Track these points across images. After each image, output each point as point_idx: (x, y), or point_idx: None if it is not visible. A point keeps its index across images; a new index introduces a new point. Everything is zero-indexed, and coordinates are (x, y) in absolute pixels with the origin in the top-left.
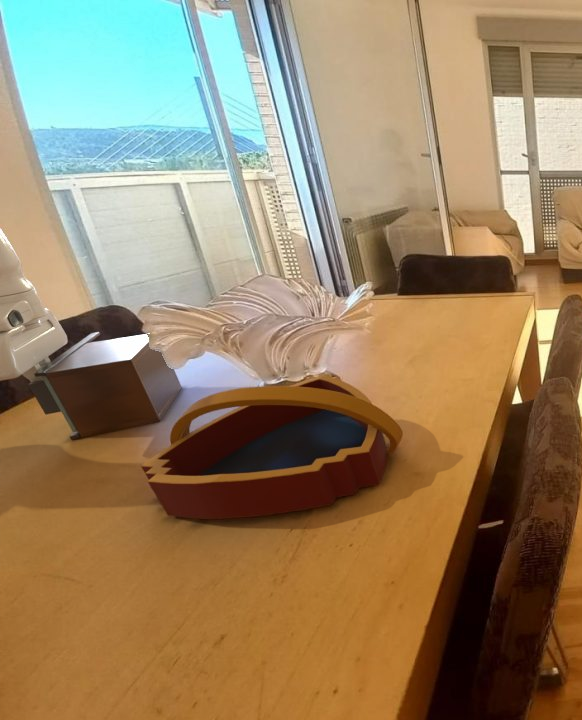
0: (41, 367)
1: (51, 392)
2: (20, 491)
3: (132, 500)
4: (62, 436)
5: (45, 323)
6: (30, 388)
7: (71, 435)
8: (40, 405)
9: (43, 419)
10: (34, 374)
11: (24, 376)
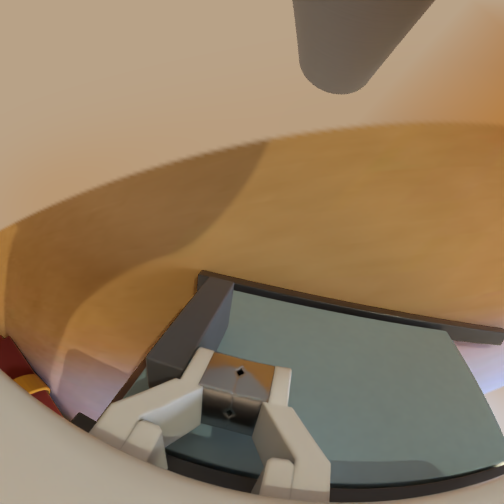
0: (274, 456)
1: (146, 369)
2: (40, 221)
3: (9, 320)
4: (250, 248)
5: None
6: (157, 342)
7: (201, 278)
8: (194, 295)
9: (447, 190)
10: (72, 420)
11: (143, 391)
